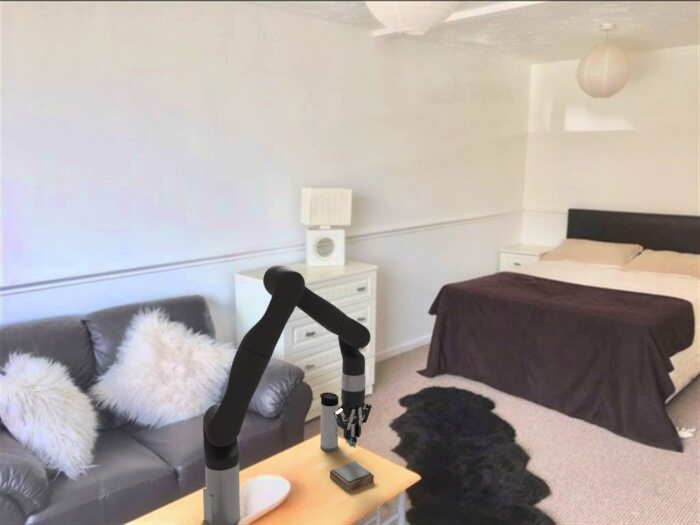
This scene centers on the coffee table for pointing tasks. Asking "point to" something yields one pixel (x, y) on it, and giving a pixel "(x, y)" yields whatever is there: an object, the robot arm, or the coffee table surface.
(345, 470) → the tray
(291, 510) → the coffee table surface
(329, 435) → the travel mug
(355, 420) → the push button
